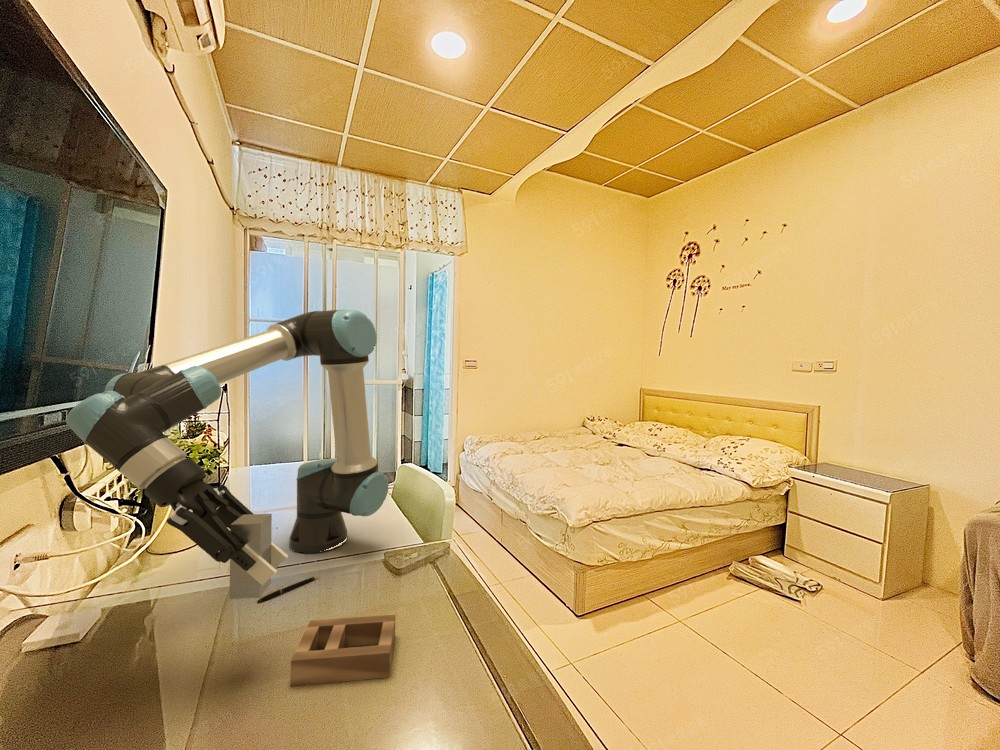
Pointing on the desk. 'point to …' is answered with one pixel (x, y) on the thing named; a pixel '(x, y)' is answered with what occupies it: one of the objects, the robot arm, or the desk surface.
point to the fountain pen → (284, 590)
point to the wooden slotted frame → (344, 650)
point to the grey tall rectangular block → (258, 537)
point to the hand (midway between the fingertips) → (275, 569)
